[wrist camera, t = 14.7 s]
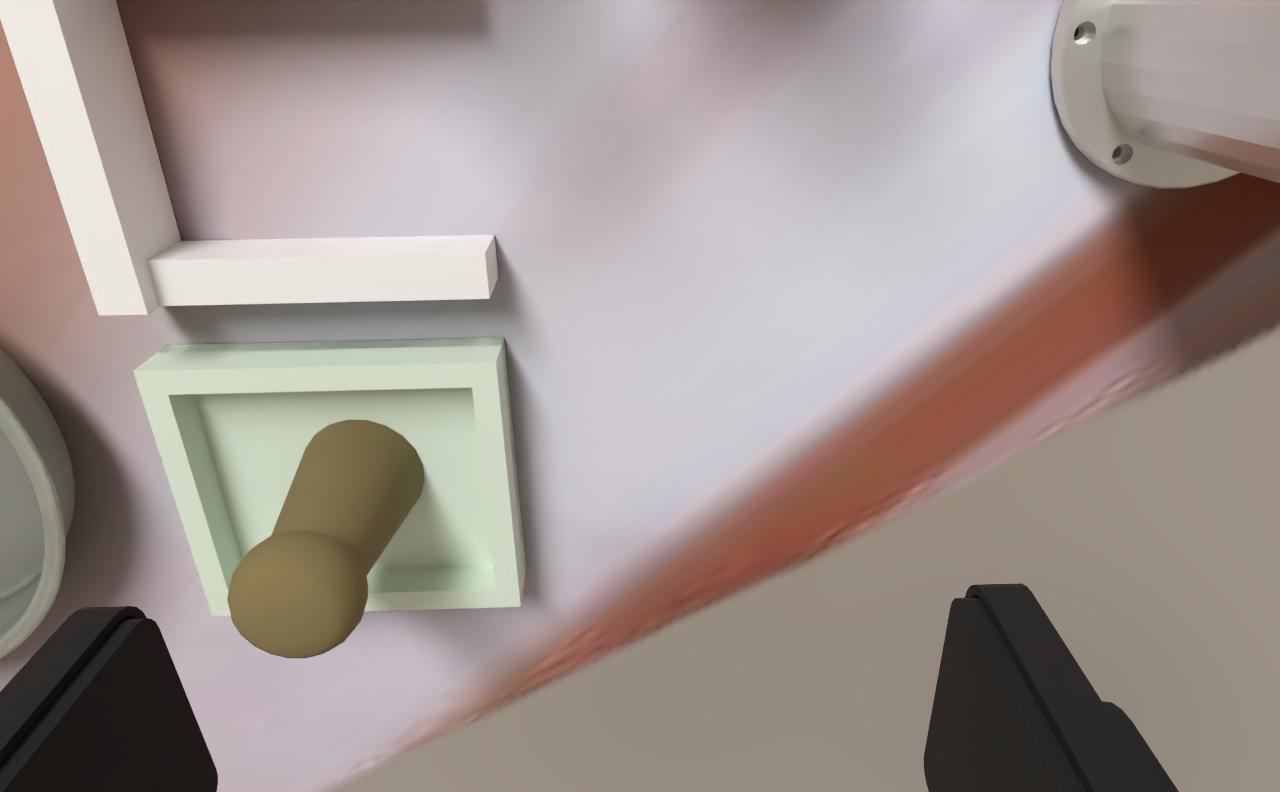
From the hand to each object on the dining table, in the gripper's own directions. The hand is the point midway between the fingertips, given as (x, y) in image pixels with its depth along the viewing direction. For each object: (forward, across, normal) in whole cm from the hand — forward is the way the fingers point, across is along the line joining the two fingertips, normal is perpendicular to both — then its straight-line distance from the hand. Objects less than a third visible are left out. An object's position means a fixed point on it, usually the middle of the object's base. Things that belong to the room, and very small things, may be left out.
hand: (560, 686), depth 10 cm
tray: (+28, +14, +14) cm, 35 cm away
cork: (+28, +14, +14) cm, 34 cm away
